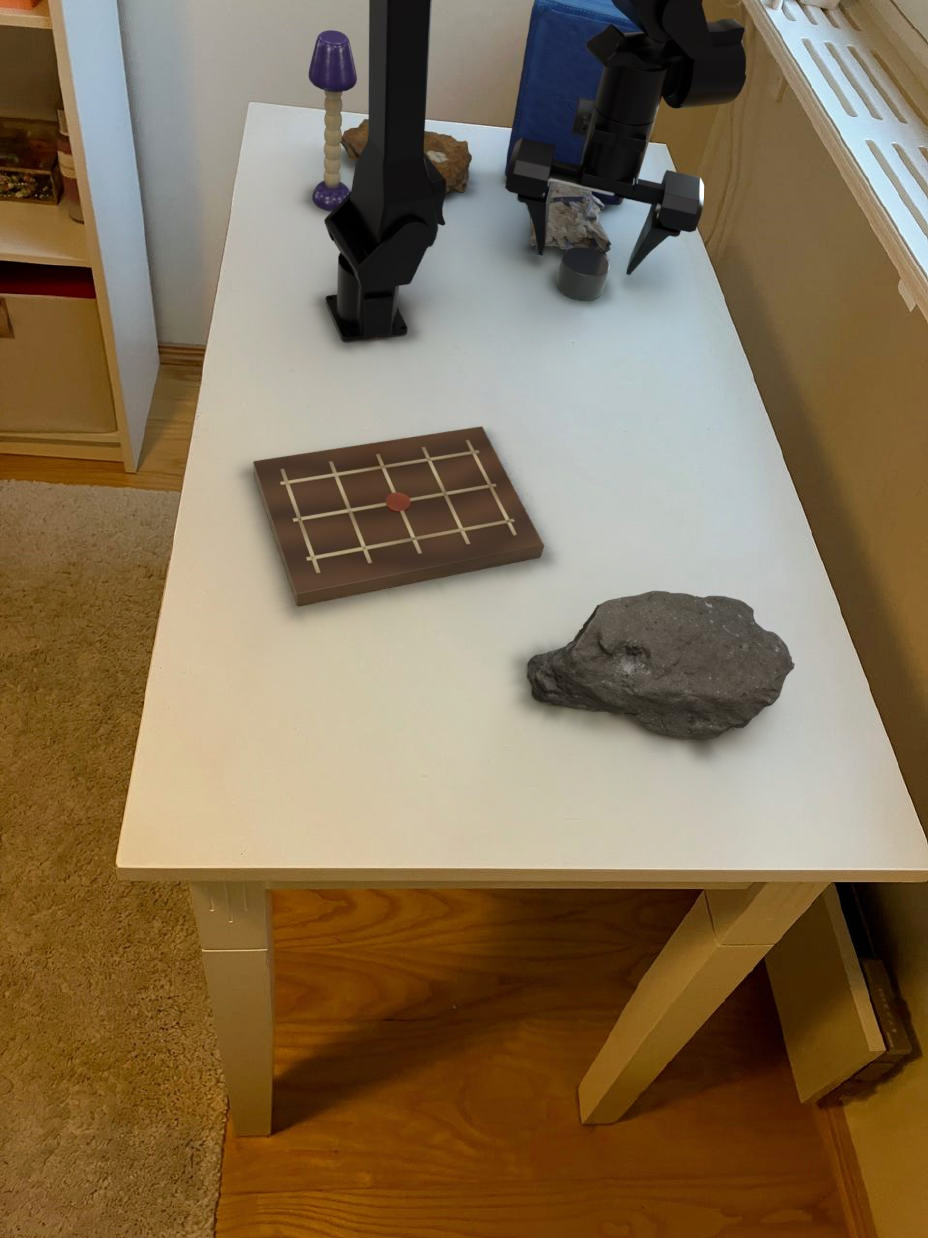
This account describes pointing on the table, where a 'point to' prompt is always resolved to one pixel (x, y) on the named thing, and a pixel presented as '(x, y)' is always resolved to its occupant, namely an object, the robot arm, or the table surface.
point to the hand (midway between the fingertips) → (584, 262)
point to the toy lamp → (332, 109)
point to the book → (561, 74)
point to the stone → (668, 664)
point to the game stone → (582, 274)
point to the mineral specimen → (574, 220)
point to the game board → (393, 513)
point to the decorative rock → (438, 147)
